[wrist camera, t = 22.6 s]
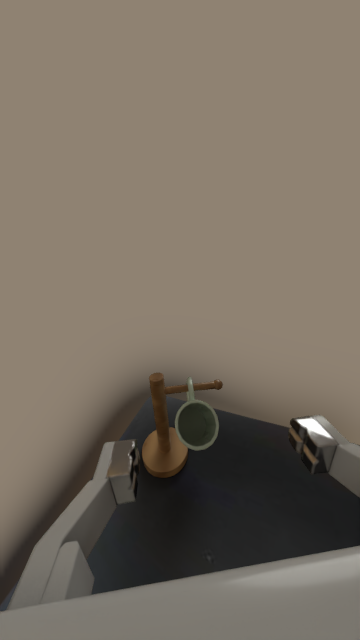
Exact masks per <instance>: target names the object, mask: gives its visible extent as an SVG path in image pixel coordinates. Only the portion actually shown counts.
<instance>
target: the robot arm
mask: <svg viewBox="0 0 360 640" xmlns="http://www.w3.org/2000/svg"><path fill="white" fill-rule="evenodd" d="M290 425H291V426H292V427H291V428H290V429H289V432H288V437H289V441H290V443H291V445H292V447H293V448H294V450H295V451H296V452H298V453H299V454H301V460H302V461H303V463H304V464H305V466H306V467H307V469H308V470H309V471H310V473H311V474H319V473H328V472H329V474H330V475H331V476H333V477H334V478H335V479H336V480H338V481H339V482H340V483H342V484H343V485H344V486H345V487H347V488H348V489H349V490H350V491H352V492H353V493H354V494H356V495H357V496H358V497H359V498H360V446H358V445H356V444H354V443H350V442H349V441H348V440H346V439H345V438H344V437H343V435H342V434H341V433H340V432H338V431H337V430H336V429H335V428H334V427H333V426H332V425H331V424H330V423H329V422H328V421H327V420H326V419H325V418H324V417H323V416H321V415H315V416H305V417H298V418H293V419H291V421H290ZM139 468H140V455H139V450H138V449H137V440H136V439H134V440H124V441H115V442H106V443H105V444H104V446H103V449H102V452H101V455H100V458H99V461H98V465H97V468H96V471H95V474H94V477H93V480H92V481H89V482H88V483H87V484H86V485H85V487H84V488H83V489H82V490H81V491H80V493H79V494H78V495H77V496H76V497H75V499H74V500H73V501H72V502H71V503H70V504H69V506H68V507H67V508H66V509H65V511H64V512H63V513H62V514H61V515H60V516H59V518H58V519H57V520H56V521H55V522H54V524H53V525H52V526H51V527H50V528H49V530H48V531H47V532H46V533H45V534H44V536H43V537H42V538H41V539H40V540H39V542H38V543H37V544H36V545H35V546H34V549H33V551H32V554H31V556H30V558H29V560H28V562H27V564H26V567H25V569H24V571H23V574H22V576H21V578H20V580H19V583H18V585H17V587H16V589H15V592H14V594H13V596H12V598H11V601H10V603H9V605H8V607H7V610H6V611H1V612H0V640H360V546H356V547H350V548H345V549H339V550H334V551H328V552H323V553H318V554H312V555H307V556H301V557H296V558H290V559H285V560H279V561H274V562H268V563H263V564H257V565H252V566H247V567H241V568H236V569H230V570H225V571H219V572H214V573H208V574H203V575H197V576H192V577H187V578H181V579H176V580H170V581H165V582H159V583H154V584H148V585H143V586H138V587H132V588H127V589H121V590H116V591H110V592H105V593H99V594H94V595H91V593H92V588H93V583H94V577H93V574H92V572H91V570H90V568H89V565H88V563H87V561H86V560H87V558H88V556H89V555H90V553H91V551H92V549H93V547H94V546H95V544H96V542H97V540H98V539H99V537H100V535H101V533H102V532H103V530H104V528H105V526H106V525H107V523H108V521H109V519H110V517H111V516H112V514H113V512H114V510H115V509H116V507H117V505H119V504H124V503H129V502H135V501H136V496H137V487H138V482H137V475H138V474H139Z"/></svg>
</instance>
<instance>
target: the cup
mask: <svg viewBox="0 0 360 640" xmlns="http://www.w3.org/2000/svg"><path fill="white" fill-rule="evenodd" d="M187 384H188V392H186V395H187V403H185V404H184V405H182V406H181V408H180V409H179V411H178V412H177V415H176V419H175V429H176V433H177V435H178V438H179V440H180V441H181V442H182V443H183V444H184V445H185V446H186V447H187V448H190V449H193V450H196V451H197V450H204V449H206V448H208V447H209V446H210V445H212V444H213V442H214V441H215V439H216V437H217V435H218V429H219V423H218V418H217V415H216V413H215V411H214V410H213V408H212V407H211V406H210V405H208V404H207V403H206V402H203V401H200V400H195V396H194V388H193V381H192V378H191V377H188V378H187V381H186V385H187Z"/></svg>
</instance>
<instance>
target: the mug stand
mask: <svg viewBox="0 0 360 640" xmlns="http://www.w3.org/2000/svg"><path fill="white" fill-rule="evenodd" d="M149 380H150V387H151V393H152V394H151V395H152V402H153V409H154V416H155V423H156V430H155V431H154V432H152V433H151V434H150V435H149V436H148V437H147V439H146V440H145V442H144V444H143V448H142V457H143V462H144V465H145V468H146V469H147V471H148V472H149V473H150V474H152V475H153V476H156V477H159V478H167V477H171V476H173V475H175V474H177V473H178V472H179V471H180V470H181V469H182V468H183V467H184V465H185V463H186V461H187V458H188V448H187V447H186V446H185V445H184V444H183V443H182V442H181V441H180V440H179V438H178V435H177V433H176V429H175V428H172V427H169V422H168V412H167V403H166V394H172V393H181V392H188V384H187V385H178V386H169V387H165V385H164V376H163V374H161V373H154V374H152V375H151V376H150V377H149ZM222 385H223V384H222V382H221V381H220V380H215V381H213V382H204V383H195V384H193V388H194V391H198V390H207V389H217V390H219V389H221V388H222Z"/></svg>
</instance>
